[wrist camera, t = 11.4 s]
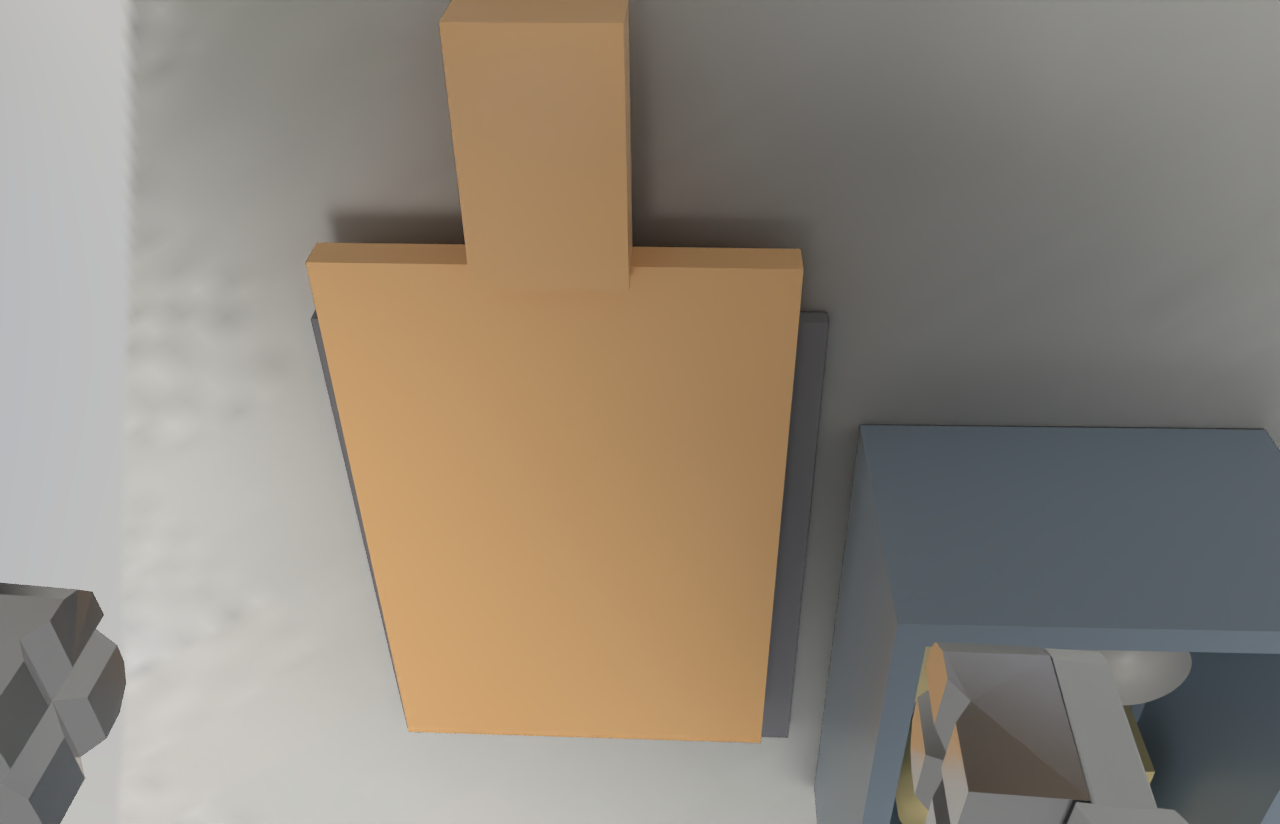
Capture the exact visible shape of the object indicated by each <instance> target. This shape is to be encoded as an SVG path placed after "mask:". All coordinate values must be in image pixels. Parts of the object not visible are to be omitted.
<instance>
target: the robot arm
mask: <svg viewBox="0 0 1280 824" xmlns="http://www.w3.org/2000/svg"><path fill="white" fill-rule="evenodd" d="M103 615H104V614H103V612H102V610H101V608H100V607H99V604H98V602H97V600H96V598H95V596H94V594H93V592H89V591H83V590H75V589H64V588H52V587H41V586H30V585H19V584H8V583H0V824H60V823H61V821H62V819H63V817H64V816H65V814H66V812H67V810H68V808H69V806H70V805H71V803H72V801H73V799H74V797H75V795H76V794H77V791H78V790H79V788H80V786H81V784H82V782H83V781H84V779H85V776H84V771H83V767H82V762H81V758H80V757H81V756H82V755H84V754H85V753H87V752H88V751H89V750H91V749H92V748H94V747H95V746H96V745H98V744H99V743H101V742H102V741H103V740H105V739H106V738H107V736H108V734H109V732H110V730H111V728H112V726H113V724H114V722H115V720H116V718H117V717H118V714H119V713H120V708H121V704H122V699H123V694H124V690H125V685H126V679H125V668H124V661H123V658H122V656H121V654H120V651H119V649H118V646H117V645H116V644H115V643H114V642H112V641H111V640H110V639H108V638H107V637H106V636H104V635H103V634H102V633H100V632H99V631H98V630H96V627H97V625H98V624H99V622H100V620H101V619H102V617H103ZM925 670H926V676H927V683H928V689H929V690H927V691H926V692H924V693H923V694H922V695H920V696H919V697H917V701H916V706H915V710H914V715H913V719H912V732H911V746H910V750H911V768H912V778H913V786H914V794H915V796H916V797H917V798H918V799H919V801H920V802H921V803H922V804H923V805H924V806H925V807H926V809H927V810H928V815H927V818H926V822H925V824H1189V823H1188V822H1187V821H1186V820H1185V819H1184V818H1183V817H1182V816H1181V815H1180V814H1179V813H1177V812H1176V811H1175V810H1172V809H1163V808H1157V805H1156V802H1155V799H1154V796H1153V793H1152V790H1151V787H1150V784H1149V781H1148V778H1147V775H1146V772H1145V769H1144V766H1143V764H1142V761H1141V758H1140V755H1139V752H1138V749H1137V746H1136V743H1135V740H1134V737H1133V734H1132V731H1131V728H1130V725H1129V722H1128V719H1127V716H1126V713H1125V710H1124V707H1123V704H1122V701H1121V698H1120V695H1119V692H1118V689H1117V686H1116V683H1115V681H1114V678H1113V675H1112V672H1111V669H1110V666H1109V663H1108V661H1107V659H1106V658H1105V657H1104V656H1103V655H1102V654H1101V653H1100V652H1097V651H1081V650H1065V649H1048V648H1045V649H1041V648H1040V647H1028V646H1008V645H988V644H968V643H948V642H935V643H934V645H933V646H932V648H931V649H930V652H929V655H928V659H927V663H926V666H925Z"/></svg>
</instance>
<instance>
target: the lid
mask: <svg viewBox="0 0 1280 824" xmlns="http://www.w3.org/2000/svg"><path fill="white" fill-rule="evenodd" d="M439 29H440V38H441V46H442V55H443V63H444V71H445V80H446V88H447V97H448V105H449V113H450V122H451V130H452V139H453V147H454V155H455V164H456V172H457V181H458V189H459V197H460V206H461V214H462V223H463V231H464V239H465V244H390V243H317V244H316V245H315V247H314V249H313V250H312V252H311V254H310V256H309V257H308V259H307V261H306V267H307V271H308V276H309V280H310V285H311V289H312V294H313V298H314V303H315V308H316V312H317V317H318V321H319V326H320V330H321V335H322V339H323V344H324V348H325V353H326V358H327V362H328V367H329V371H330V376H331V380H332V385H333V389H334V394H335V399H336V403H337V408H338V412H339V417H340V421H341V426H342V430H343V435H344V439H345V444H346V449H347V453H348V458H349V462H350V467H351V471H352V476H353V480H354V485H355V490H356V494H357V499H358V503H359V508H360V512H361V517H362V521H363V526H364V530H365V535H366V540H367V544H368V549H369V553H370V558H371V562H372V567H373V571H374V576H375V581H376V585H377V590H378V594H379V599H380V603H381V608H382V612H383V617H384V621H385V626H386V631H387V635H388V640H389V644H390V649H391V653H392V658H393V662H394V667H395V672H396V676H397V681H398V685H399V690H400V694H401V699H402V703H403V708H404V712H405V717H406V722H407V726H408V731H409V732H435V733H467V734H498V735H529V736H561V737H592V738H623V739H655V740H686V741H717V742H748V743H761V733H762V722H763V711H764V700H765V689H766V678H767V667H768V656H769V645H770V634H771V623H772V612H773V601H774V590H775V579H776V568H777V557H778V546H779V535H780V524H781V513H782V502H783V491H784V480H785V469H786V458H787V447H788V436H789V425H790V414H791V403H792V392H793V381H794V370H795V359H796V348H797V337H798V327H799V316H800V305H801V294H802V283H803V272H804V268H803V261H802V254H801V249H774V248H697V247H632V188H631V125H630V62H629V0H452V1H451V2H450V4H449V6H448V7H447V9H446V11H445V13H444V14H443V16H442V18H441V19H440V21H439Z"/></svg>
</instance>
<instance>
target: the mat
mask: <svg viewBox="0 0 1280 824" xmlns="http://www.w3.org/2000/svg"><path fill="white" fill-rule="evenodd" d="M311 322H312V326H313V330H314V335H315V339H316V343H317V347H318V352H319V356H320V360H321V364H322V368H323V373H324V377H325V381H326V385H327V390H328V394H329V398H330V402H331V407H332V411H333V415H334V419H335V423H336V428H337V432H338V436H339V440H340V445H341V449H342V453H343V457H344V461H345V466H346V470H347V474H348V478H349V483H350V487H351V491H352V495H353V499H354V504H355V508H356V512H357V516H358V521H359V525H360V529H361V533H362V537H363V542H364V546H365V550H366V554H367V559H368V563H369V567H370V571H371V576H372V580H373V584H374V588H375V592H376V597H377V601H378V605H379V609H380V614H381V618H382V622H383V626H384V630H385V635H386V639H387V643H388V647H389V652H390V656H391V660H392V664H393V668H394V673H395V677H396V681H397V676H396V672H395V667H394V662H393V658H392V653H391V649H390V644H389V640H388V635H387V631H386V626H385V621H384V617H383V612H382V608H381V603H380V599H379V594H378V590H377V585H376V581H375V576H374V571H373V567H372V562H371V558H370V553H369V549H368V544H367V540H366V535H365V530H364V526H363V521H362V517H361V512H360V508H359V503H358V499H357V494H356V490H355V485H354V480H353V476H352V471H351V467H350V462H349V458H348V453H347V449H346V444H345V439H344V435H343V430H342V426H341V421H340V417H339V412H338V408H337V403H336V399H335V394H334V389H333V385H332V380H331V376H330V371H329V367H328V362H327V358H326V353H325V348H324V344H323V339H322V335H321V330H320V326H319V321H318V317H317V312H316V310H315V312H314V314H313V316H312V318H311ZM827 333H828V317H827V313H819V312H800V316H799V327H798V337H797V348H796V359H795V370H794V381H793V392H792V403H791V414H790V425H789V436H788V447H787V458H786V469H785V480H784V491H783V502H782V513H781V524H780V535H779V546H778V557H777V568H776V579H775V590H774V601H773V612H772V623H771V634H770V645H769V656H768V667H767V678H766V689H765V700H764V711H763V722H762V733H761V737H785V738H788V732H789V722H790V712H791V701H792V691H793V681H794V671H795V660H796V650H797V640H798V630H799V619H800V609H801V599H802V589H803V579H804V568H805V558H806V548H807V538H808V527H809V517H810V507H811V497H812V486H813V476H814V466H815V456H816V446H817V435H818V425H819V415H820V405H821V394H822V384H823V374H824V364H825V354H826V343H827ZM397 685H398V681H397ZM398 690H399V685H398ZM399 694H400V690H399ZM400 698H401V694H400ZM401 702H402V699H401ZM402 706H403V703H402ZM403 711H404V708H403ZM404 715H405V712H404ZM405 719H406V717H405ZM406 723H407V722H406ZM407 728H408V726H407Z"/></svg>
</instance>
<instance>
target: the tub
mask: <svg viewBox="0 0 1280 824" xmlns="http://www.w3.org/2000/svg"><path fill="white" fill-rule="evenodd" d="M935 642H948V643H968V644H988V645H1008V646H1028V647H1040V648H1041V649H1045V648H1048V649H1065V650H1081V651H1097V652H1100V653H1101V654H1102V655H1103V656H1104V657H1105V658H1106V659H1107V661H1108V663H1109V666H1110V669H1111V672H1112V675H1113V678H1114V681H1115V683H1116V686H1117V689H1118V692H1119V695H1120V698H1121V701H1122V704H1123V707H1124V710H1125V713H1126V716H1127V719H1128V722H1129V725H1130V728H1131V731H1132V734H1133V737H1134V740H1135V743H1136V746H1137V749H1138V752H1139V755H1140V758H1141V761H1142V764H1143V766H1144V769H1145V772H1146V775H1147V778H1148V781H1149V784H1150V787H1151V790H1152V793H1153V796H1154V799H1155V802H1156V805H1157V808H1163V809H1172V810H1175V811H1176V812H1177V813H1179V814H1180V815H1181V816H1182V817H1183V818H1184V819H1185V820H1186V821H1187V822H1188V823H1189V824H1280V451H1279V450H1278V448H1277V447H1276V445H1275V444H1274V442H1273V441H1272V439H1271V437H1270V436H1269V434H1268V433H1267V431H1266V430H1252V429H1165V428H1077V427H990V426H902V425H860V430H859V438H858V446H857V454H856V462H855V470H854V478H853V486H852V494H851V501H850V509H849V517H848V525H847V533H846V541H845V549H844V557H843V565H842V573H841V580H840V588H839V596H838V604H837V612H836V620H835V628H834V636H833V644H832V651H831V659H830V667H829V675H828V683H827V691H826V699H825V707H824V715H823V723H822V730H821V738H820V746H819V754H818V762H817V770H816V778H815V786H814V792H815V803H816V814H817V824H925V822H926V818H927V815H928V810H927V809H926V807H925V806H924V805H923V804H922V803H921V802H920V801H919V799H918V798H917V797H916V796H915V794H914V786H913V778H912V768H911V750H910V746H911V732H912V719H913V715H914V710H915V706H916V701H917V697H919V696H920V695H922V694H923V693H924V692H926V691H927V690H929V689H928V683H927V676H926V670H925V666H926V663H927V659H928V655H929V652H930V649H931V648H932V646H933V645H934V643H935Z"/></svg>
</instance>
